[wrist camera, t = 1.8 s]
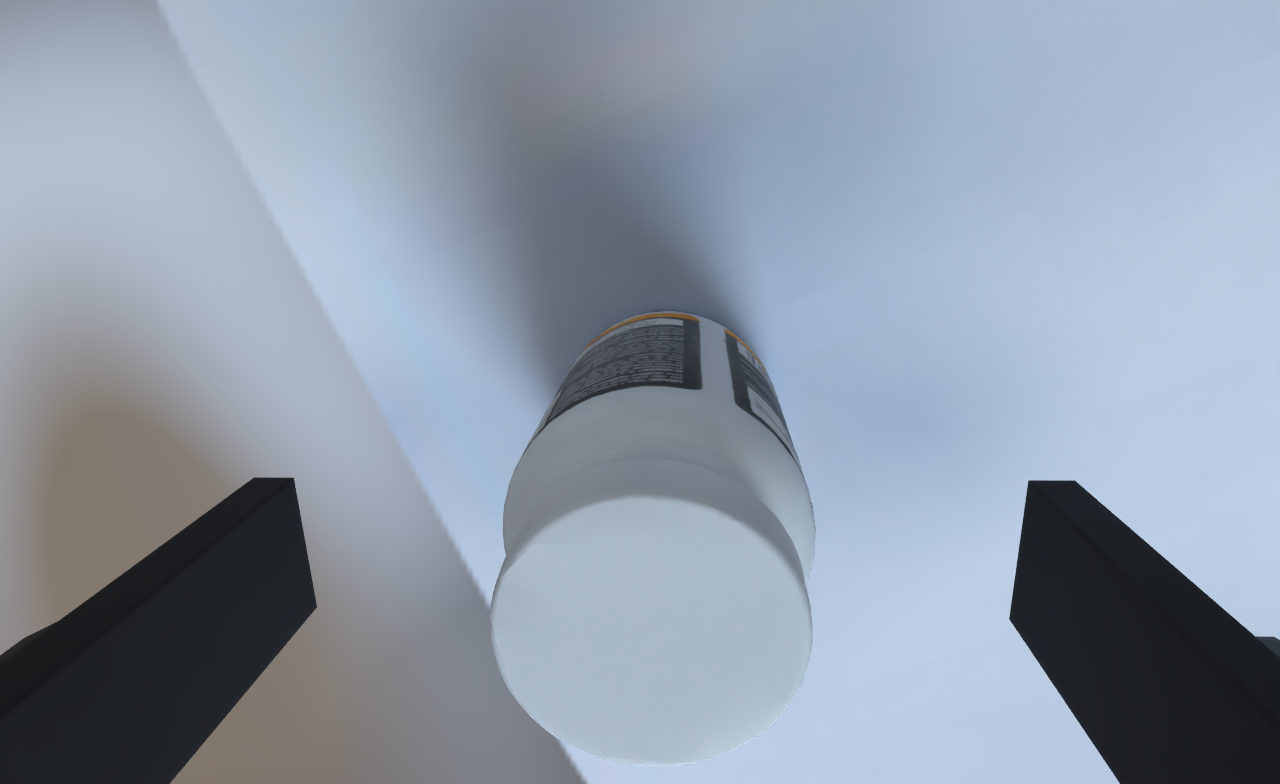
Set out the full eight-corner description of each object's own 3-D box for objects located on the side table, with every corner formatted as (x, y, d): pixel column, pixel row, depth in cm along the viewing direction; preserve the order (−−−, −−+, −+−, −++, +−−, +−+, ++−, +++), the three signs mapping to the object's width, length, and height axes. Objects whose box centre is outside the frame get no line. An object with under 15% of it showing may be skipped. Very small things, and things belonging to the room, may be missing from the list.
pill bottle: (546, 480, 21) (423, 751, 12) (587, 281, 19) (480, 411, 10) (745, 528, 21) (782, 838, 12) (804, 333, 19) (906, 514, 10)
